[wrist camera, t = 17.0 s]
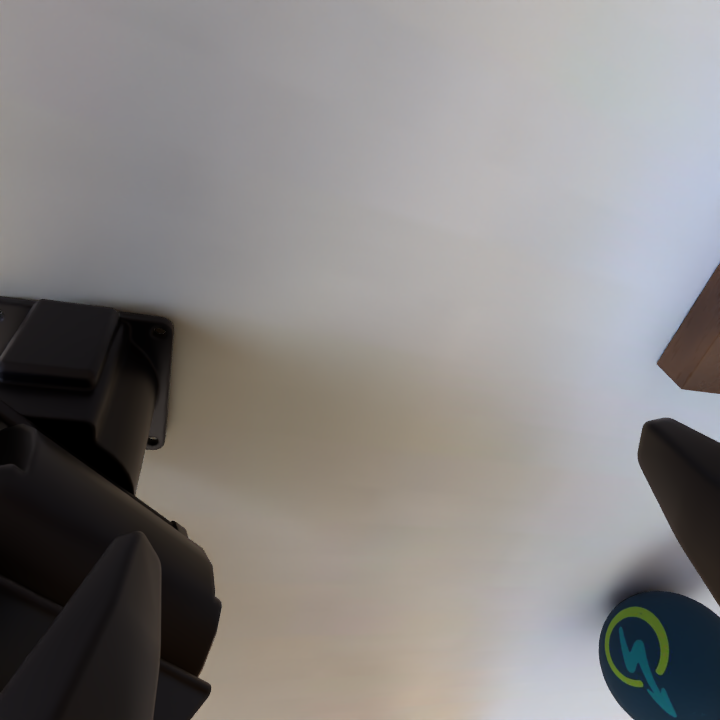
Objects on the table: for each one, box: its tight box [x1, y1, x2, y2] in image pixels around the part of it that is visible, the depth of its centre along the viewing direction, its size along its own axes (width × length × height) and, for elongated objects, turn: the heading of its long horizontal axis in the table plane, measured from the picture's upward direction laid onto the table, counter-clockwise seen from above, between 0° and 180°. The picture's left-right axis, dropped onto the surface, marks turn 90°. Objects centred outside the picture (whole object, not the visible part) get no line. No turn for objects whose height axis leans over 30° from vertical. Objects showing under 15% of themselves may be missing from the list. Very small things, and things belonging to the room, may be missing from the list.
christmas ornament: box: [599, 591, 720, 720], centre depth 36 cm, size 8×8×10 cm
